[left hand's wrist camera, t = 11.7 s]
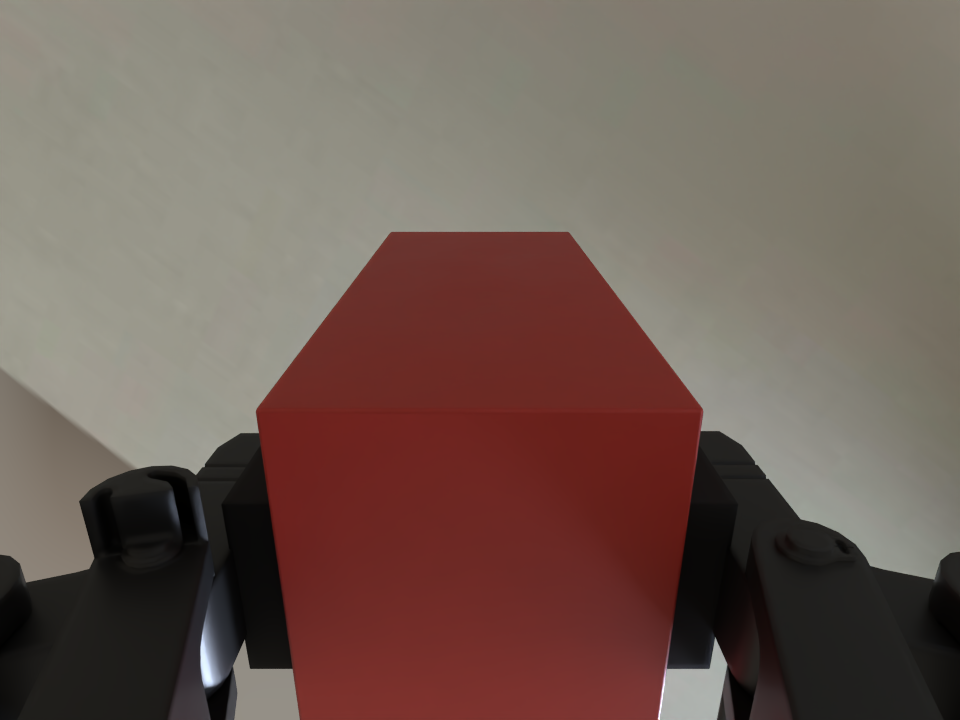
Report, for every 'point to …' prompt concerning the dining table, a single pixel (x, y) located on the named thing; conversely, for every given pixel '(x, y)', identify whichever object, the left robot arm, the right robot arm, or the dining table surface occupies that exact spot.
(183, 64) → the dining table surface
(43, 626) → the left robot arm
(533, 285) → the block
